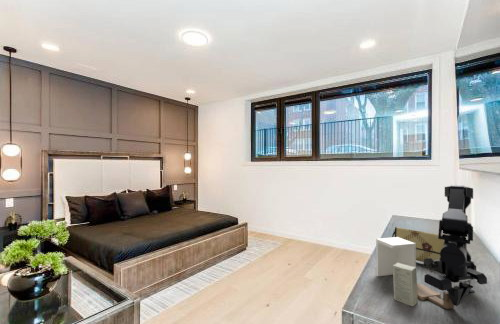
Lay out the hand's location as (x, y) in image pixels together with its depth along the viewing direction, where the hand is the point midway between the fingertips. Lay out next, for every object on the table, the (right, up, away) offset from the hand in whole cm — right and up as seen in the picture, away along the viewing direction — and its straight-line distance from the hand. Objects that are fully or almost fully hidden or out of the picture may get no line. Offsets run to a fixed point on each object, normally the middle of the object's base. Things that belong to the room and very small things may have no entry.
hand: (455, 305), depth 79 cm
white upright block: (-5, -3, +23) cm, 24 cm away
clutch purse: (+17, -3, +38) cm, 42 cm away
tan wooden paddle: (-2, -2, +9) cm, 9 cm away
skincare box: (-12, -3, +7) cm, 14 cm away
